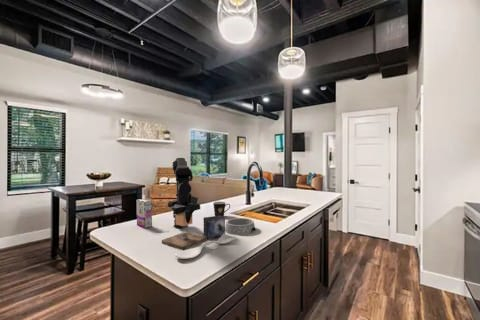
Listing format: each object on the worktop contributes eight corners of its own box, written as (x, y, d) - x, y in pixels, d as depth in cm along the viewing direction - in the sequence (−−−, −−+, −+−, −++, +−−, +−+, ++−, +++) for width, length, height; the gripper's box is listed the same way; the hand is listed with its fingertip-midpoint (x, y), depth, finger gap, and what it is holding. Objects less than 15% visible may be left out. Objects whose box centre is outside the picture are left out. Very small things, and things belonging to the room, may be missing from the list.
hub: (183, 226, 117) (183, 216, 117) (175, 224, 121) (175, 214, 120) (192, 223, 122) (192, 213, 122) (184, 221, 125) (184, 211, 125)
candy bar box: (152, 226, 147) (152, 200, 147) (145, 228, 144) (144, 201, 143) (144, 223, 155) (143, 198, 154) (136, 225, 151) (135, 199, 150)
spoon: (237, 242, 119) (237, 236, 119) (183, 265, 96) (182, 256, 96) (224, 238, 126) (224, 232, 125) (171, 258, 102) (171, 250, 102)
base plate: (185, 234, 133) (185, 226, 132) (206, 239, 123) (206, 231, 123) (161, 243, 120) (161, 234, 119) (182, 250, 110) (182, 240, 110)
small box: (207, 240, 123) (206, 220, 123) (203, 236, 129) (202, 217, 128) (225, 236, 128) (225, 217, 127) (221, 233, 133) (220, 214, 133)
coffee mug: (212, 217, 166) (211, 203, 166) (215, 214, 175) (215, 201, 174) (228, 218, 164) (227, 204, 164) (230, 215, 173) (230, 201, 172)
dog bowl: (219, 232, 135) (219, 223, 135) (235, 224, 151) (234, 216, 151) (246, 237, 127) (246, 227, 127) (259, 227, 143) (259, 219, 143)
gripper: (207, 191, 122) (208, 221, 122) (183, 188, 133) (183, 215, 133) (191, 194, 113) (192, 226, 113) (167, 191, 124) (167, 220, 124)
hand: (184, 221), depth 121 cm, fingers closed on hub, 6 cm apart
